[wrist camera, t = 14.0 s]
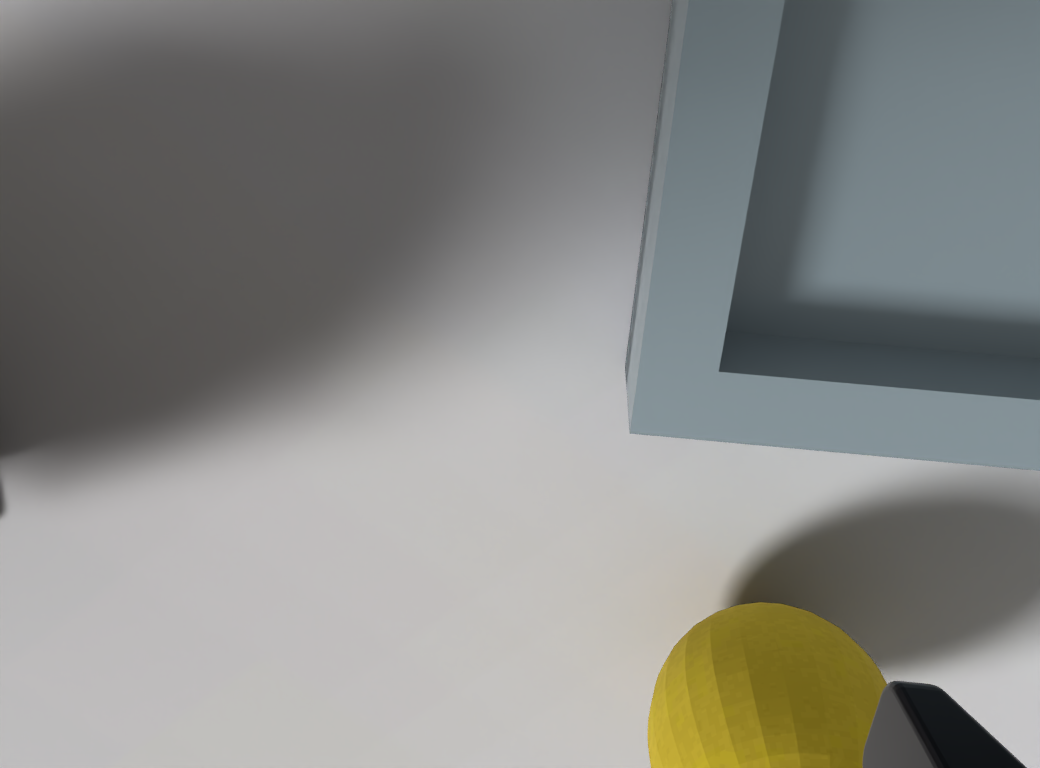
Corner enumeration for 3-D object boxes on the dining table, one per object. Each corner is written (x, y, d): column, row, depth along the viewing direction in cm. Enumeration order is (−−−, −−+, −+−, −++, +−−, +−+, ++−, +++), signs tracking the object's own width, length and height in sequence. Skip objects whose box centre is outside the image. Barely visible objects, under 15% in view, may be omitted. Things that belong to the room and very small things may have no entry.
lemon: (597, 611, 24) (598, 900, 17) (777, 498, 23) (862, 770, 15) (724, 735, 26) (774, 1047, 19) (903, 640, 24) (1032, 946, 17)
